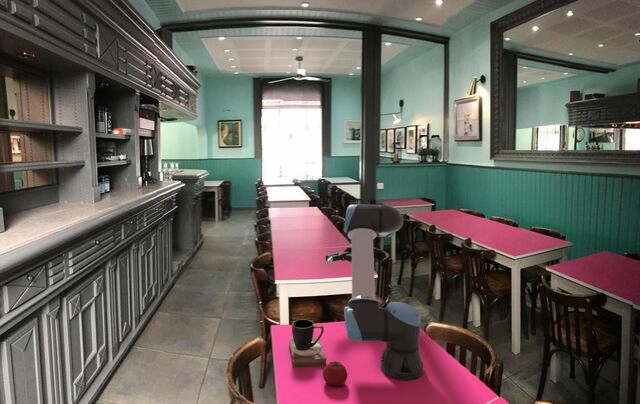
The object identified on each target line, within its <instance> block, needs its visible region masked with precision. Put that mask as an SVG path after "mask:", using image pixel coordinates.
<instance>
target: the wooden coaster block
mask: <svg viewBox="0 0 640 404" xmlns="http://www.w3.org/2000/svg"><path fill="white" fill-rule="evenodd" d="M317 339H318V337H313V338H312V342H311V343H313V342H315V341H316V340H317ZM289 350H290V356H291V361H292V367H293V368H304V367H316V366H324V365H325V366H326V365H327V356H326V354H325V351H324V348H323V346H322V341H321V338H320V339H319V340H318V341H317V343H316V344H315V345H314V346H313V347H310V348H309V349H308V350H305V351H300V350H297V349H296V347H295V343H294V340H293V338H292V339H289Z"/></svg>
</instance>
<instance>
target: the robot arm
mask: <svg viewBox="0 0 640 404" xmlns="http://www.w3.org/2000/svg"><path fill="white" fill-rule="evenodd" d="M345 212H346V213H345V220H344V227H343V228H344V229H343V231H344V233H346V234H347V237H348V239H349V245H348V246H347V247H346V248H345V249H344V252H340V251H336V252H334V253H330V254H326V255H325V262H326V267H330V266H331V265H332V264H333V262H338V261H348V262H349V263H351V298H350V299H349V300H348V302H347V306H345V307H344V308H343V314H344V323H345V325H344V326H345V332H346V337H347V338H348V339H349V340H350V341H353V342H360V343H362V342H376V343H379V342H380V343H385V348H384V350H383V353H382V355H381V357H380V361H379V362H380V364H379V365H380V370H381V371H382V372H383V373H384V374H385V375H386V376H388V377H391V378H393V379H396V380H401V381H411V380H416V379H418V378H420V377H421V376H422V375H423V374H424V363H423V359H422V356H421V351H420V337H421V336H420V334H421V333H420V332H421V325H422V323H421V313H420V311H419V310H418V308H416V307H415V306H413V305H411V304H408V303H405V302H402V301H401V302H400V301H392V302H391V301H390V302H389V303H387V305H386V307H381V303H380V301H379V300H378V299H377V298H376V285H375V283H376V282H375V279H376V277H375V258H374V256H375V255H374V239H376V237H377V238H392V237H393V236H394V234H395V233H396V232H398V231H400V229H401V228H402V227H403V225H404V217H403V215H402V213H401V211H399V210H398V209H397V208H395V207H393V206H391V205H387V204H359V203H356V204H349V205H348V206H347V207H346V211H345Z"/></svg>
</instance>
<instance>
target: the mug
mask: <svg viewBox="0 0 640 404" xmlns="http://www.w3.org/2000/svg"><path fill="white" fill-rule="evenodd" d="M314 329H321V332H320V334H319V335H318V336H317V338H318V339H317V340H316V341H315V342H313V343H311V342H312V338H314ZM324 331H325V330H324V326H323V325H315V324H314V322H313V320H310V319H306V318H301V319H295V320H294V321H292V324H291V333H292V334H291V335H292V339H293V340H294V343H295V347H296V349H297V350H300V351H305V350H308V349H309V348H310V347H313V346H314V345H315V344H316V343H317V341H318V340H319V339H320V340H321V338H322V336H323V334H324Z"/></svg>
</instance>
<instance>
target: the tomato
mask: <svg viewBox="0 0 640 404" xmlns="http://www.w3.org/2000/svg"><path fill="white" fill-rule="evenodd" d="M322 377H323V380H324V382H325V383H326V384H327V385H329V386H335V387H340V386H343V385H344V384H345V383H346V381H347V379H348V371H347V368H346V367H345V366H344V364H342V363H341V362H339V361H336V360H334V361H330V362H329V363H328V364H326V365H325V366H324V368H323V371H322Z"/></svg>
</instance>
